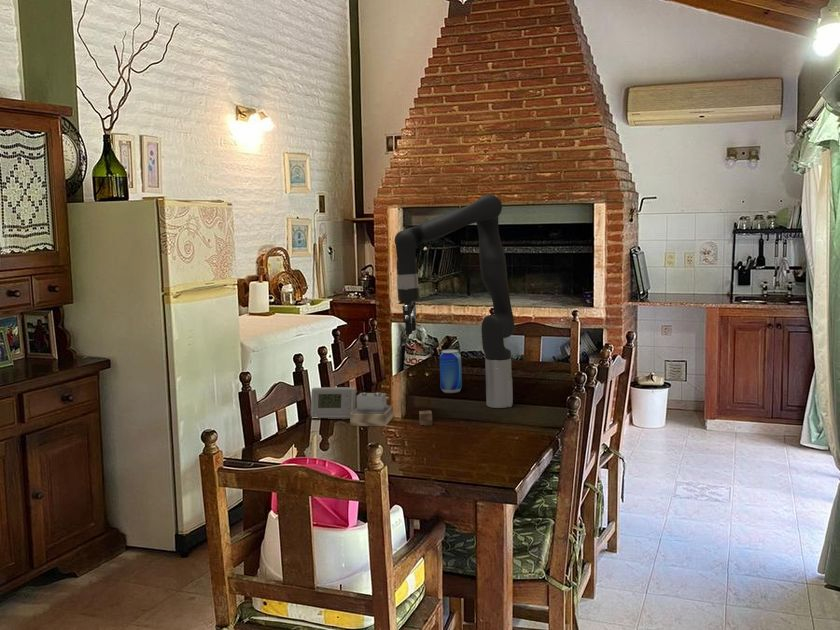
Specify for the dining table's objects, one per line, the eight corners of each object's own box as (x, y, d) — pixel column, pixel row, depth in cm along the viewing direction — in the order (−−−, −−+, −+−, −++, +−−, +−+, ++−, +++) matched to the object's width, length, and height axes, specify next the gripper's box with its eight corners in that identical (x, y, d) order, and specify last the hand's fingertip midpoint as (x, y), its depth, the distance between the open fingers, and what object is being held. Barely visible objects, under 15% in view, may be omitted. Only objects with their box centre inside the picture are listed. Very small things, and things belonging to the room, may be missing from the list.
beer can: (437, 392, 303) (436, 352, 301) (445, 388, 311) (443, 348, 309) (457, 394, 300) (456, 353, 298) (464, 389, 308) (463, 349, 306)
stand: (393, 416, 269) (393, 405, 269) (385, 426, 258) (384, 413, 257) (360, 416, 272) (359, 404, 271) (350, 425, 260) (349, 413, 260)
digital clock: (307, 420, 270) (306, 390, 269) (319, 413, 279) (318, 384, 277) (350, 422, 265) (348, 391, 263) (361, 415, 273) (359, 386, 272)
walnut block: (431, 422, 261) (431, 410, 261) (432, 425, 257) (431, 413, 257) (419, 422, 261) (419, 411, 261) (420, 425, 257) (419, 414, 257)
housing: (361, 407, 268) (360, 391, 267) (386, 407, 266) (386, 391, 265) (357, 410, 263) (356, 394, 262) (382, 411, 261) (381, 394, 260)
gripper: (400, 286, 282) (404, 330, 283) (393, 289, 268) (397, 335, 269) (421, 284, 280) (424, 329, 282) (415, 288, 266) (418, 334, 268)
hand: (411, 332), depth 276 cm, fingers open, 8 cm apart
